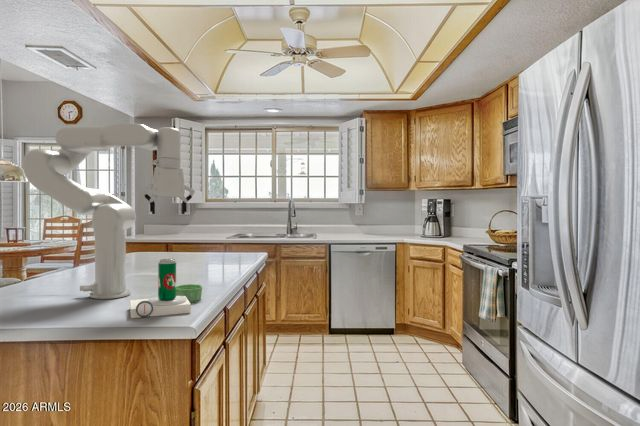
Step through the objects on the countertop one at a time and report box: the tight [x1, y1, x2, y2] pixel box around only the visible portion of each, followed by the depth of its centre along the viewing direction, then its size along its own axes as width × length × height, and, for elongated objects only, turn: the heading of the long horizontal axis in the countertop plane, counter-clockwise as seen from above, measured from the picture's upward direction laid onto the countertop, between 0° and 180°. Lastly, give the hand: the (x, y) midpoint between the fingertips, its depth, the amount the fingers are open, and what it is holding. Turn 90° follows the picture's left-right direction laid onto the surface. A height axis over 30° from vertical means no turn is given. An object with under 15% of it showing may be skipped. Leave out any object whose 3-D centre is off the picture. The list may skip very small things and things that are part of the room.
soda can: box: [157, 258, 177, 301], centre depth 125 cm, size 5×5×12 cm
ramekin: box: [176, 283, 203, 303], centre depth 139 cm, size 9×9×4 cm
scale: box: [129, 296, 192, 319], centre depth 124 cm, size 16×13×4 cm
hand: (168, 214), depth 143 cm, fingers open, 9 cm apart
